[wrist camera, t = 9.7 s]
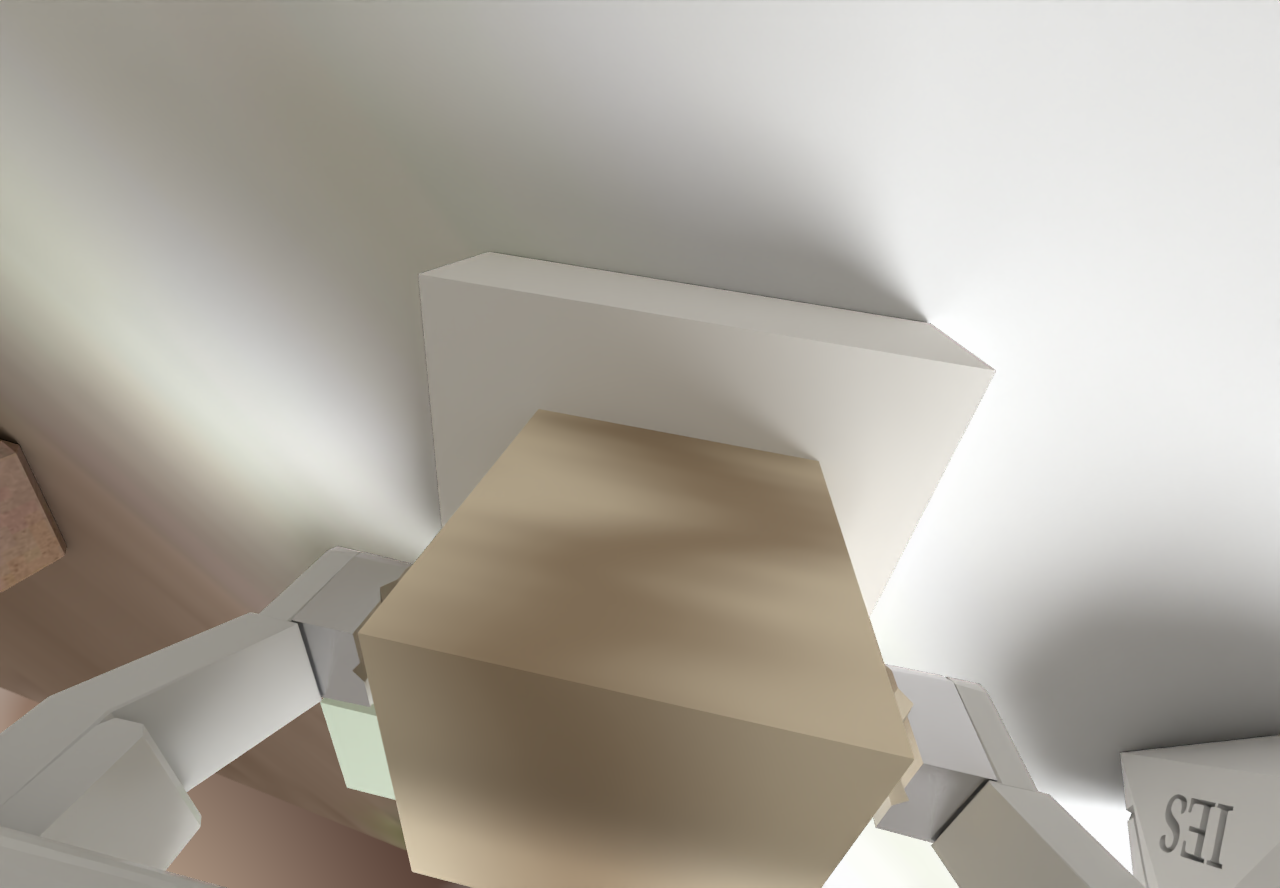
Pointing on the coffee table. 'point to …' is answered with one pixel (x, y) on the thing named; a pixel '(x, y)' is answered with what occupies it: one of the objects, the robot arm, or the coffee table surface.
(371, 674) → the beech cube
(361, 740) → the sage cube
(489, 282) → the foundation slab
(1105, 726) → the coffee table surface
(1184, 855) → the die
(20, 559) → the decorative block
